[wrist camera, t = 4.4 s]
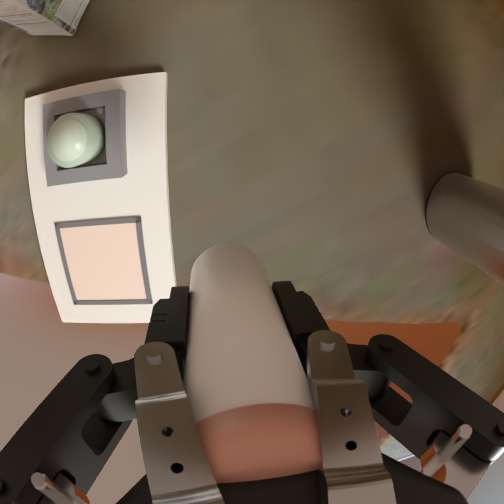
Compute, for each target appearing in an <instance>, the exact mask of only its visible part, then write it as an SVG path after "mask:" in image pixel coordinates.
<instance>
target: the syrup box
mask: <svg viewBox="0 0 504 504" xmlns="http://www.w3.org/2000/svg"><path fill="white" fill-rule="evenodd" d="M89 2H90V0H0V23H3V24H5V25H8V26H10V27H13V28H15V29H17V30H19V31H22V32H24V33H27V34H29V35H66V36H73V35H74V34H75V32H76V30H77V28H78V25H79V23H80V21H81V19H82V17H83V14H84V12H85V10H86V8H87V6H88V4H89Z"/></svg>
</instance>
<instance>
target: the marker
mask: <svg viewBox="0 0 504 504" xmlns="http://www.w3.org/2000/svg"><path fill="white" fill-rule="evenodd" d="M184 390H185V392H186V395H187V398H188V401H189V405H190V408H191V411H192V415H193V418H194V421H195V424H196V427H197V430H198V434H199V437H200V440H201V443H202V446H203V448H204V451H205V454H206V457H207V460H208V463H209V465H210V468H211V471H212V473H213V476H214V479H215V481H216V483H232V482H244V481H254V480H262V479H270V478H276V477H283V476H289V475H294V474H300V473H305V472H310V471H314V470H318V467H319V465H320V463H321V454H320V445H319V437H318V429H317V422H316V415H315V410H314V407H313V401H312V396H311V391H310V387H309V383H308V380H307V377H306V375H305V372H304V369H303V367H302V364H301V362H300V359H299V357H298V354H297V351H296V349H295V346H294V344H293V341H292V339H291V336H290V333H289V331H288V328H287V326H286V323H285V321H284V318H283V316H282V313H281V310H280V308H279V305H278V303H277V300H276V298H275V295H274V293H273V290H272V288H271V285H270V282H269V280H268V277H267V275H266V272H265V270H264V267H263V265H262V262H261V260H260V259H259V257H258V256H257V255H256V254H255V253H254V252H253V251H252V250H250V249H248V248H247V247H244V246H242V245H239V244H233V243H225V244H219V245H215V246H213V247H211V248H209V249H207V250H206V251H204V252H203V253H202V254H201V255H200V256H199V257H198V258H197V259H196V261H195V263H194V265H193V267H192V271H191V280H190V299H189V314H188V332H187V352H186V360H185V386H184Z"/></svg>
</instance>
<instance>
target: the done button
mask: <svg viewBox="0 0 504 504" xmlns="http://www.w3.org/2000/svg"><path fill="white" fill-rule="evenodd" d="M105 140H106V133H105V127H104V125H103V123H102V121H101V120H100V119H99V118H98V117H97V116H95V115H92V114H86V113H67V114H64V115H62V116H60V117H59V118H58V119H57V120H56V121H55V122H54V123H53V124H52V126H51V128H50V130H49V132H48V136H47V150H48V153H49V156H50V158H51V159H52V160H53V162H54V163H56V164H57V165H59V166H61V167H64V168H71V167H75V166H78V165H80V164H83V163H86V162H88V161H91V160H93V159H94V158H96V157H97V156H98V155H99V154H100V152H101V151H102V149H103V147H104V145H105Z"/></svg>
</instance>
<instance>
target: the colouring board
mask: <svg viewBox="0 0 504 504" xmlns="http://www.w3.org/2000/svg"><path fill="white" fill-rule="evenodd" d="M67 113H86V114H92V115H95V116H97V117H98V118H99V119H100V120H101V121H102V123H103V125H104V127H105V133H106V140H105V145H104V147H103V149H102V151H101V152H100V154H99V155H98V156H97V157H96V158H94V159H93V160H91V161H88V162H86V163H83V164H80V165H78V166H75V167H71V168H64V167H61V166H59V165H57V164H56V163H54V162H53V160H52V159H51V158H50V156H49V153H48V150H47V136H48V132H49V130H50V128H51V126H52V124H53V123H54V122H55V121H56V120H57V119H58V118H59V117H60V116H62V115H64V114H67ZM25 143H26V158H27V170H28V179H29V187H30V195H31V202H32V208H33V214H34V219H35V225H36V230H37V235H38V239H39V244H40V248H41V252H42V256H43V260H44V264H45V268H46V272H47V275H48V279H49V282H50V286H51V289H52V292H53V295H54V298H55V302H56V305H57V308H58V310H59V313H60V316H61V319H62V322H76V323H149V322H150V318H151V314H152V309H153V306H154V305H155V304H156V302H157V301H158V300H159V299H169V298H170V292H171V287H177V286H176V277H175V267H174V257H173V246H172V234H171V221H170V206H169V188H168V163H167V73H166V72H159V73H148V74H139V75H131V76H124V77H117V78H111V79H105V80H99V81H94V82H89V83H84V84H79V85H75V86H70V87H66V88H62V89H58V90H54V91H50V92H47V93H43V94H40V95H36V96H33V97H30V98H27V99H25Z"/></svg>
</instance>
